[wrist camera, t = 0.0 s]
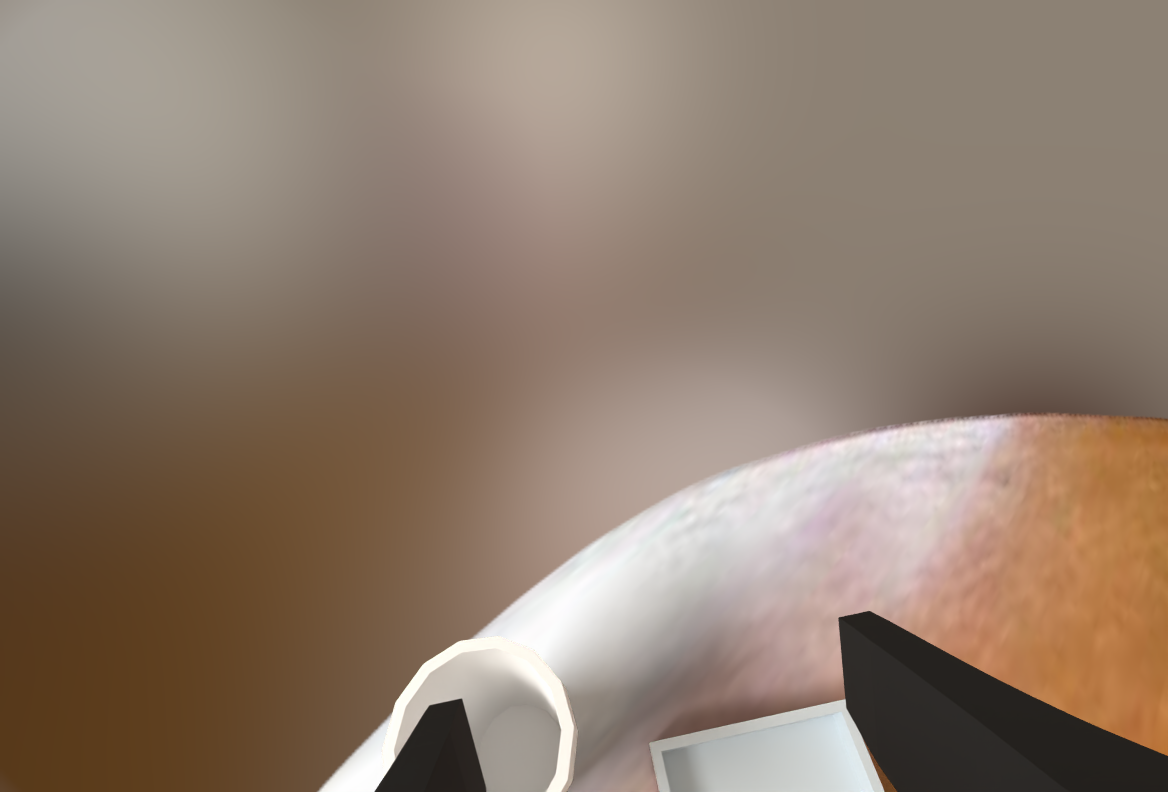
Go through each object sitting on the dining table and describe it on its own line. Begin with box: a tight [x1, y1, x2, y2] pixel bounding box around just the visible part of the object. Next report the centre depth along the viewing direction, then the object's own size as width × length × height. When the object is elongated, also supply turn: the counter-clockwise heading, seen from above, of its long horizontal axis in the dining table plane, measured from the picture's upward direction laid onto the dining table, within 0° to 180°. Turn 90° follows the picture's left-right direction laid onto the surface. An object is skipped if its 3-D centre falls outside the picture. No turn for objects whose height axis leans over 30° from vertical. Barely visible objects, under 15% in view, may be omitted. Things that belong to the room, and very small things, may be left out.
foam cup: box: [382, 636, 578, 792], centre depth 32 cm, size 10×9×13 cm
